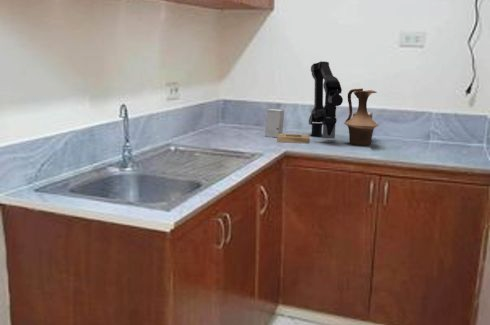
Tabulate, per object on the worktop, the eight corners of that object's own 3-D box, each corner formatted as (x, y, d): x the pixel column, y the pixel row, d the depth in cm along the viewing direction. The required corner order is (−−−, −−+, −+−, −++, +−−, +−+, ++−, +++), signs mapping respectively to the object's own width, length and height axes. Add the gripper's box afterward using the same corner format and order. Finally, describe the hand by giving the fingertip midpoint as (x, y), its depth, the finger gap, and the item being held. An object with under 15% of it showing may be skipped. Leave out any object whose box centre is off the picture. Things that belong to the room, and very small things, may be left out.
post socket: (278, 138, 269) (279, 133, 269) (308, 139, 267) (309, 134, 267) (277, 141, 255) (277, 137, 255) (308, 143, 253) (308, 138, 253)
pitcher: (336, 144, 253) (339, 88, 248) (350, 140, 267) (353, 87, 262) (369, 147, 243) (373, 89, 238) (382, 143, 257) (386, 88, 252)
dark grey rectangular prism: (322, 137, 261) (323, 123, 259) (334, 137, 260) (335, 124, 259) (322, 138, 257) (323, 124, 256) (334, 138, 256) (335, 125, 255)
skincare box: (264, 136, 274) (265, 109, 271) (269, 135, 279) (270, 108, 276) (278, 137, 270) (280, 110, 267) (283, 136, 275) (284, 109, 272)
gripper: (314, 102, 265) (313, 131, 268) (314, 105, 247) (312, 136, 250) (335, 103, 264) (334, 132, 267) (337, 106, 246) (335, 137, 249)
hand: (328, 134), depth 258 cm, fingers closed on dark grey rectangular prism, 4 cm apart
